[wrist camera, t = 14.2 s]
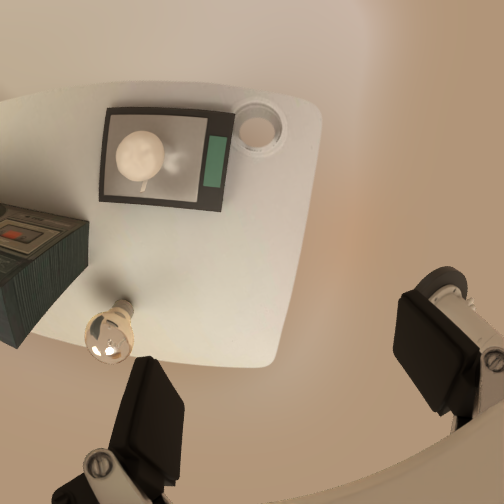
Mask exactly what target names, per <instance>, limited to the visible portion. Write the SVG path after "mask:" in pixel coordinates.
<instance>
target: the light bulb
mask: <svg viewBox="0 0 504 504" xmlns="http://www.w3.org/2000/svg"><path fill="white" fill-rule="evenodd" d="M133 313H134V309H133V307H132V305H131V304H130V303H129V302H128V301H126V300H118V301H116V302H115V304H114V305H113V307H112V308H111V309H110V310H108V311H106V312H101V313H99V314H97V315H95V316H94V317H92V318H91V319H90V321H89V322H88V324H87V326H86V329H85V343H86V346H87V348H88V350H89V352H90V353H91V355H92V356H93V357H95V358H96V359H97V360H99V361H101V362H103V363H106V364H115V363H120V362H121V361H123V360H125V359H126V358H127V357H128V356H129V355H130V353H131V351H132V349H133V346H134V333H133V330H132V327H131V318H132V315H133Z"/></svg>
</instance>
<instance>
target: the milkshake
mask: <svg viewBox="0 0 504 504" xmlns="http://www.w3.org/2000/svg"><path fill="white" fill-rule="evenodd" d="M172 156H173V152H172V147H171V145H169V144H168V143H167V142H165V141H164V140H162V139H160V138H159V137H157V136H156V135H155V134H153V133H151V132H148V131H136V132H133V133H131V134H129V135H128V136H126V137H125V138H124V139H123V140H122V142H121V143H120V144H119V146H118V148H117V151H116V163H117V167H118V170H119V172H120V173H121V174H122V175H123V176H125V177H126V178H127V179H129V180H131V181H136V182H139V181H143V183H142V187H141V190H140V193H142V192H145V189H146V185H147V182H148V179H150V178H152V177H153V176H155V175H156V174H157V173H158V172H159V171H160V170H161V169H162V168H163V167H164V166H166V165H167V164H169V163H170V161H171V159H172Z"/></svg>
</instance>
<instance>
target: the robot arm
mask: <svg viewBox="0 0 504 504" xmlns="http://www.w3.org/2000/svg"><path fill="white" fill-rule="evenodd" d="M473 303H474V299H473V298H470V299H468V300H467V301H466V300H465V299H463V298H462V294H461V291H460V289H459V288H457V287H456V286H454V285H446V286H444V287H441V288H440V289H439V290H437V291H436V292H435V293H434V294H433V295H432V296H431V297H430V298H429V299H427V298H426V297H425V296H424V295H423V294H421V293H420V292H419V291H418V290H416V289H414V290H411V291H408V292H405V293H403V294H402V296H401V298H400V299H399V301H398V310H397V320H396V328H395V336H394V343H393V353H394V355H395V357H396V358H397V360H398V361H399V363H400V364H401V365H402V367H403V368H404V369H405V371H406V372H407V374H408V375H409V377H410V378H411V380H412V381H413V383H414V384H415V385H416V387H417V388H418V390H419V391H420V393H421V394H422V396H423V397H424V399H425V400H426V402H427V403H428V405H429V406H430V408H431V409H432V411H434V412H437V413H438V414H439V416H442V415H444V414H446V413H447V412H449V411H450V410H451V411H452V413H453V414H454V416H453V422H452V428H451V433H450V435H449V436H447V437H446V438H444V439H442V440H441V441H439V442H437V443H435V444H434V445H432V446H430V447H429V448H427V449H425V450H423V451H421V452H419V453H418V454H416V455H414V456H412V457H410V458H408V459H406V460H404V461H402V462H400V463H397V464H396V465H393V466H391V467H389V468H387V469H384V470H382V471H379V472H377V473H375V474H372V475H370V476H367V477H365V478H362V479H359V480H357V481H354V482H351V483H348V484H345V485H342V486H338V487H335V488H332V489H328V490H325V491H321V492H318V493H314V494H310V495H306V496H301V497H297V498H293V499H287V500H281V501H276V502H270V503H263V504H504V337H503V336H502V335H501V334H500V333H499V332H498V331H497V330H496V329H494V328H493V327H492V326H491V325H490V324H489V323H488V322H486V320H484V319H483V318H482V317H481V316H480V315H479V314H477V313H476V312H475V310H476V308H475V305H473ZM184 411H185V408H184V403H183V401H182V399H181V398H180V396H179V395H178V393H177V391H176V390H175V388H174V387H173V385H172V383H171V382H170V380H169V379H168V377H167V375H166V374H165V372H164V370H163V369H162V367H161V365H160V363H159V362H158V360H157V359H153V357H151V356H145V357H137V358H136V359H135V362H134V365H133V368H132V371H131V374H130V377H129V380H128V383H127V386H126V389H125V392H124V395H123V397H122V400H121V404H120V407H119V410H118V414H117V417H116V421H115V424H114V428H113V432H112V435H111V439H110V443H109V447H108V449H104V448H99V449H95V450H93V451H91V452H90V453H89V454H88V455H87V456H86V458H85V460H84V462H83V469H84V473H82V474H81V475H79V476H77V477H76V478H74V479H73V480H71V481H70V482H68V483H66V484H65V485H63V486H62V487H60V488H58V489H57V490H56V491H55V492H54V494H53V495H52V504H173V503H172V502H171V501H170V500H169V499H168V497H167V496H166V495H165V494H164V486H175V483H176V482H175V481H176V480H178V479H179V477H180V461H181V445H182V433H183V421H184Z"/></svg>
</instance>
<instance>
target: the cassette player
mask: <svg viewBox="0 0 504 504" xmlns="http://www.w3.org/2000/svg"><path fill="white" fill-rule="evenodd" d="M88 236H89V222H87V221H83V220H78V219H73V218H68V217H63V216H58V215H54V214H49V213H44V212H39V211H34V210H29V209H25V208H20V207H15V206H10V205H5V204H1V203H0V341H2V342H4V343H6V344H8V345H10V346H12V347H14V348H16V349H18V347H19V346H20V345H21V343H22V342H23V341H24V339H25V338H26V337H27V335H28V334H29V333H30V331H31V330H32V329H33V328H34V326H35V325H36V324H37V323H38V321H39V320H40V319H41V318H42V317H43V315H44V314H45V313H46V312H47V311H48V309H49V308H50V307H51V306H52V305H53V303H54V302H55V301H56V300H57V299H58V298H59V297H60V295H61V294H62V293H63V292H64V291H65V290H66V289H67V288H68V287H69V285H70V284H71V283H72V282H73V281H74V280H75V279H76V278H77V277H78V276H79V275H80V274H81V273H82V272H83V271H84V269H85V268H86V267H87V266H88Z"/></svg>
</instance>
